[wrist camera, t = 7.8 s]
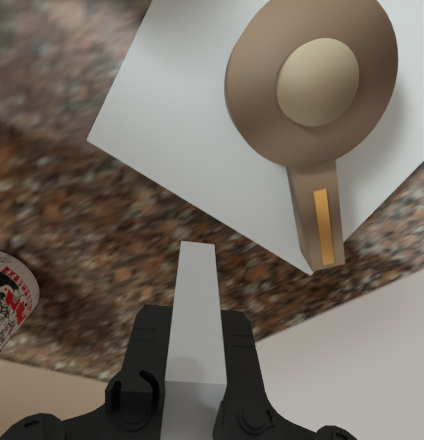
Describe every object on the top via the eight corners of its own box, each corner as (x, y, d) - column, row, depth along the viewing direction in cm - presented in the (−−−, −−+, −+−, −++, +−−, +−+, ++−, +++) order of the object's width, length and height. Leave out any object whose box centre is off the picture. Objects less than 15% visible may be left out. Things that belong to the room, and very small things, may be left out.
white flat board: (93, 137, 22) (71, 146, 18) (249, -187, 15) (262, -273, 11) (305, 266, 27) (320, 292, 24) (489, 74, 20) (549, 71, 17)
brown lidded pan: (207, 29, 17) (208, 8, 13) (355, -20, 16) (413, -62, 12) (263, 260, 24) (276, 299, 20) (368, 234, 24) (406, 269, 19)
